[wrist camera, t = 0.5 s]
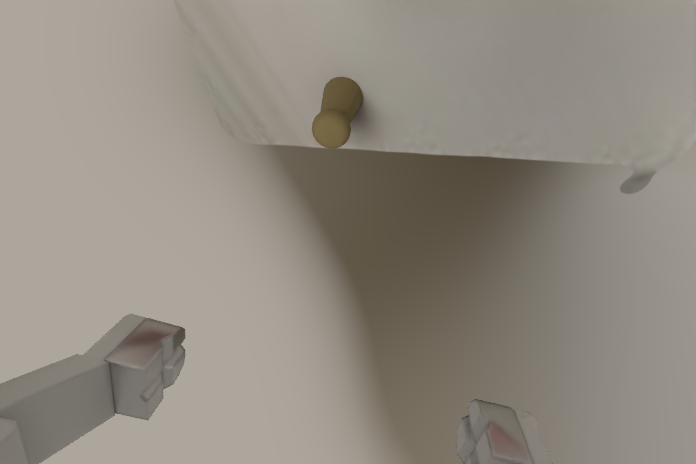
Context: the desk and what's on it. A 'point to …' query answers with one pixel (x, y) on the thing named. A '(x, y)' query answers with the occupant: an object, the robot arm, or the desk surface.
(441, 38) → the desk surface
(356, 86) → the cork
